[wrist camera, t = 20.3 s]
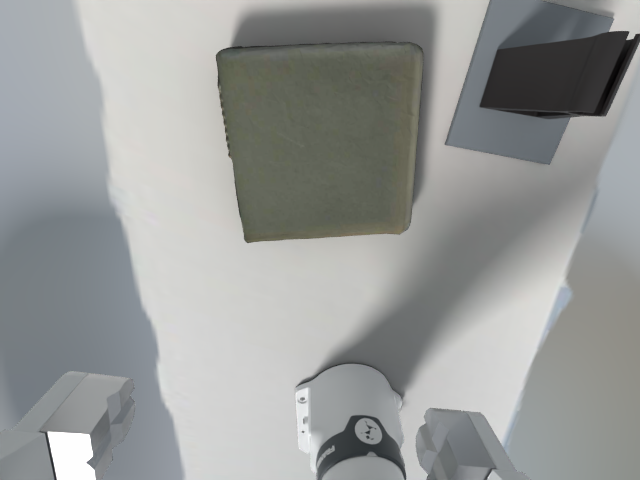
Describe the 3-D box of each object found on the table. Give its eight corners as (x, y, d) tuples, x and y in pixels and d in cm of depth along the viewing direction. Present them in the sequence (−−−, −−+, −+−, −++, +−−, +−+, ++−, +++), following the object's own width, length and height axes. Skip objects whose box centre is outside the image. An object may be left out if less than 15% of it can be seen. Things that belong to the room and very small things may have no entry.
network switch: (202, 60, 36) (186, 52, 31) (409, 19, 35) (425, 5, 30) (254, 247, 44) (248, 263, 40) (420, 217, 44) (434, 230, 39)
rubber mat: (546, 164, 41) (549, 164, 40) (444, 144, 40) (446, 145, 39) (609, 20, 35) (614, 18, 35) (492, -9, 34) (495, -11, 33)
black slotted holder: (569, 64, 36) (685, 43, 25) (547, 119, 38) (645, 122, 27) (495, 49, 35) (583, 20, 24) (477, 106, 37) (549, 105, 26)
